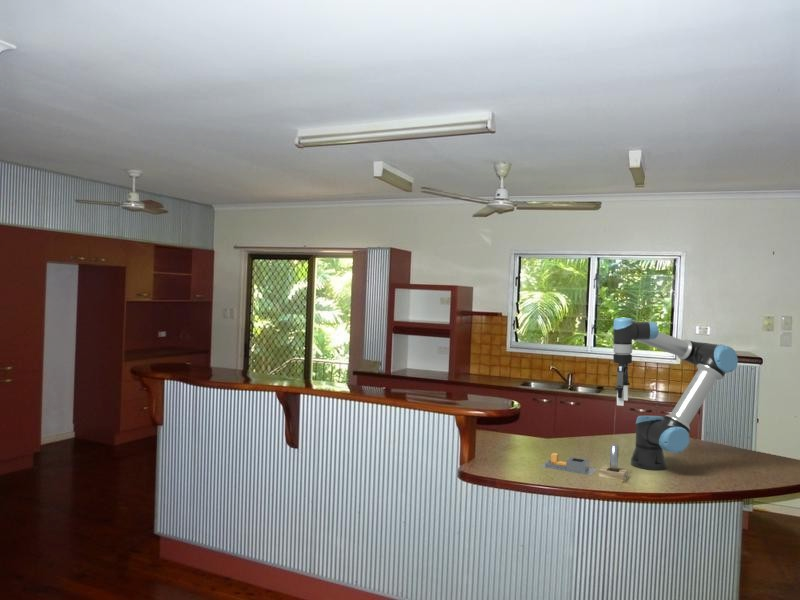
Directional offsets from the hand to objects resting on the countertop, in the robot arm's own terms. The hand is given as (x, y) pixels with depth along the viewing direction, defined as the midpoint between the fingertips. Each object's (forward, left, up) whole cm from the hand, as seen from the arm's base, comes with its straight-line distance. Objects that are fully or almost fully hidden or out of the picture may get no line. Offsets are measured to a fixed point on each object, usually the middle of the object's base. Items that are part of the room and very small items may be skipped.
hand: (622, 402), depth 266 cm
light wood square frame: (+6, -2, -32) cm, 32 cm away
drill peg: (+6, -2, -32) cm, 32 cm away
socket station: (+6, -20, -32) cm, 38 cm away
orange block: (+6, -24, -30) cm, 39 cm away
